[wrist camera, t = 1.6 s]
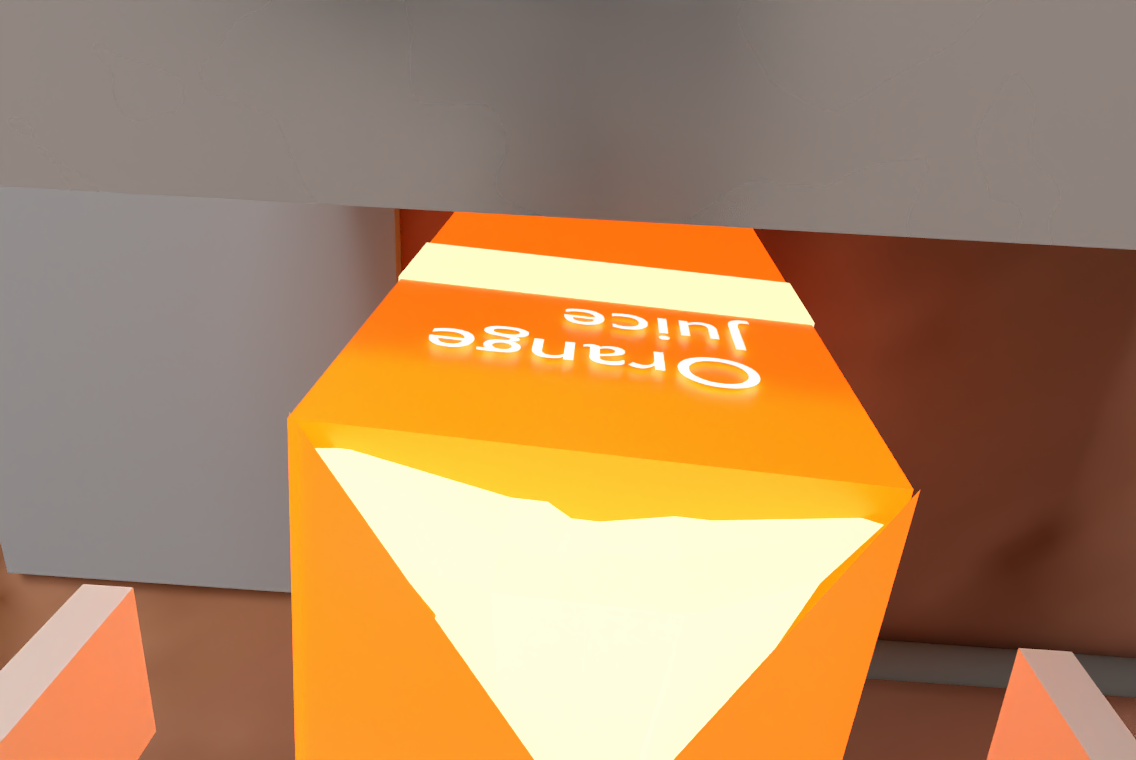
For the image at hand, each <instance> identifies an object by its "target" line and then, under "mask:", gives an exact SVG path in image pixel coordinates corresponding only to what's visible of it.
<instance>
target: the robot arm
mask: <svg viewBox="0 0 1136 760" xmlns="http://www.w3.org/2000/svg"><path fill="white" fill-rule="evenodd" d="M155 732H156V727H155V721H154V715H153V708H152V702H151V696H150V690H149V683H148V677H147V671H146V665H145V659H144V652H143V646H142V640H141V634H140V627H139V621H138V615H137V609H136V602H135V596H134V590H133V587H118V586H103V585H89V584H83V585H82V586H81V587H80V588H79V589H78V590H77V591H76V592H75V593H74V594H73V595H72V596H71V597H70V598H69V599H68V600H67V601H66V602H65V604H64V605H63V606H62V607H61V608H60V609H59V610H58V611H57V612H56V613H55V614H54V615H53V616H52V617H51V618H50V619H49V620H48V621H47V622H46V623H45V625H44V626H43V627H42V628H41V629H40V630H39V631H38V632H37V633H36V634H35V635H34V636H33V637H32V638H31V639H30V640H29V641H28V642H27V643H26V644H25V646H24V647H23V648H22V649H21V650H20V651H19V652H18V653H17V654H16V655H15V656H14V657H13V658H12V659H11V660H10V661H9V662H8V663H7V664H6V666H5V667H4V668H3V669H2V670H1V671H0V760H138V758H139V757H140V755H141V754H142V752H143V751H144V749H145V748H146V746H147V744H148V743H149V741H150V740H151V738H152V737H153V735H154V734H155ZM987 760H1136V739H1135V738H1134V736H1133V735H1132V734H1131V732H1130V731H1129V730H1128V728H1127V727H1126V725H1125V724H1124V723H1123V721H1122V720H1121V719H1120V717H1119V716H1118V715H1117V713H1116V712H1115V710H1114V709H1113V708H1112V706H1111V705H1110V704H1109V702H1108V701H1107V699H1106V698H1105V697H1104V695H1103V694H1102V693H1101V691H1100V690H1099V688H1098V687H1097V686H1096V684H1095V683H1094V682H1093V680H1092V679H1091V677H1090V676H1089V675H1088V673H1087V672H1086V671H1085V669H1084V668H1083V666H1082V665H1081V664H1080V662H1079V661H1078V660H1077V658H1076V657H1075V655H1074V654H1073V653H1072V652H1069V651H1055V650H1040V649H1025V648H1018V651H1017V655H1016V658H1015V662H1014V665H1013V669H1012V672H1011V676H1010V679H1009V683H1008V686H1007V690H1006V694H1005V697H1004V701H1003V704H1002V708H1001V711H1000V715H999V718H998V722H997V725H996V729H995V732H994V736H993V739H992V743H991V746H990V750H989V753H988V757H987Z"/></svg>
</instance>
